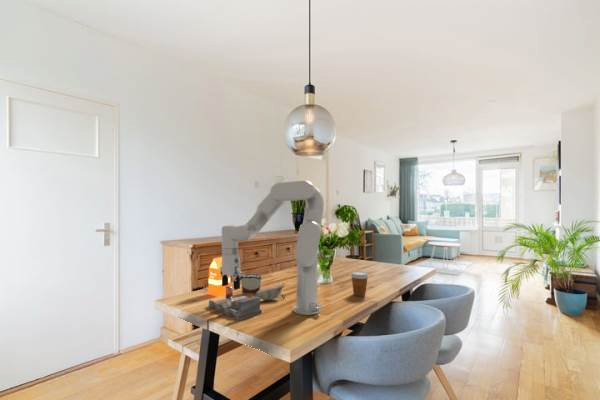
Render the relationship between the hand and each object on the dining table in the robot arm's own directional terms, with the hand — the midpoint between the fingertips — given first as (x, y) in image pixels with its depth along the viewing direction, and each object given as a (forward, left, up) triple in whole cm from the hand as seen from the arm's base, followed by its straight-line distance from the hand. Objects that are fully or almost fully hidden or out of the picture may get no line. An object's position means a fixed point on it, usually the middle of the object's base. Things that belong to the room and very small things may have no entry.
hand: (230, 287), depth 145 cm
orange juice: (+24, -8, -10) cm, 27 cm away
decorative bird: (-5, -20, -10) cm, 23 cm away
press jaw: (-3, +1, -8) cm, 8 cm away
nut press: (-4, +1, -10) cm, 10 cm away
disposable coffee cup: (-32, -61, -10) cm, 70 cm away
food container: (+13, -22, -10) cm, 28 cm away
